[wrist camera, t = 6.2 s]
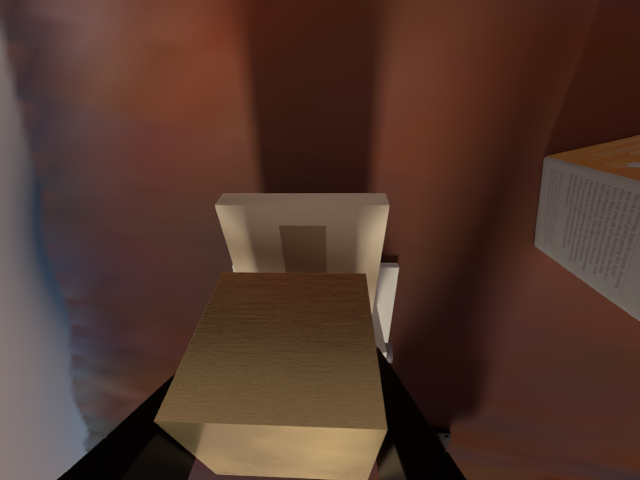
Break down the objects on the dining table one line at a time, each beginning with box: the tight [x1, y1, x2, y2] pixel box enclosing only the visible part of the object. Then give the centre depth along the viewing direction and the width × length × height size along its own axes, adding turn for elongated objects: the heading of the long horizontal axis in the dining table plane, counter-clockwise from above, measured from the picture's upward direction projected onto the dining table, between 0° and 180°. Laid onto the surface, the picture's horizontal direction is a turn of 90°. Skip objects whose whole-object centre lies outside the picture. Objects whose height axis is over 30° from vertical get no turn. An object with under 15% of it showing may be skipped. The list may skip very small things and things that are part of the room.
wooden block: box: [154, 272, 387, 480], centre depth 9 cm, size 5×5×4 cm
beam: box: [215, 193, 389, 313], centre depth 18 cm, size 22×7×1 cm, turn 1°
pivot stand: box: [232, 263, 399, 363], centre depth 19 cm, size 8×12×5 cm, turn 91°
